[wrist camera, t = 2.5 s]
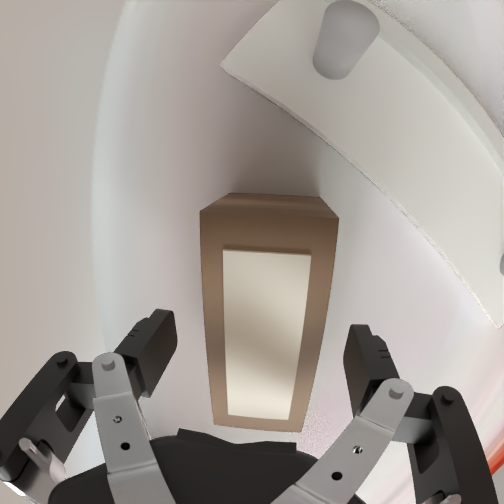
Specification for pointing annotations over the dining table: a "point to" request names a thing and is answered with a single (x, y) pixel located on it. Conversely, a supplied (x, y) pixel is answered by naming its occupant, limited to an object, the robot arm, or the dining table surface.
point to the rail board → (390, 123)
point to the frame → (265, 305)
